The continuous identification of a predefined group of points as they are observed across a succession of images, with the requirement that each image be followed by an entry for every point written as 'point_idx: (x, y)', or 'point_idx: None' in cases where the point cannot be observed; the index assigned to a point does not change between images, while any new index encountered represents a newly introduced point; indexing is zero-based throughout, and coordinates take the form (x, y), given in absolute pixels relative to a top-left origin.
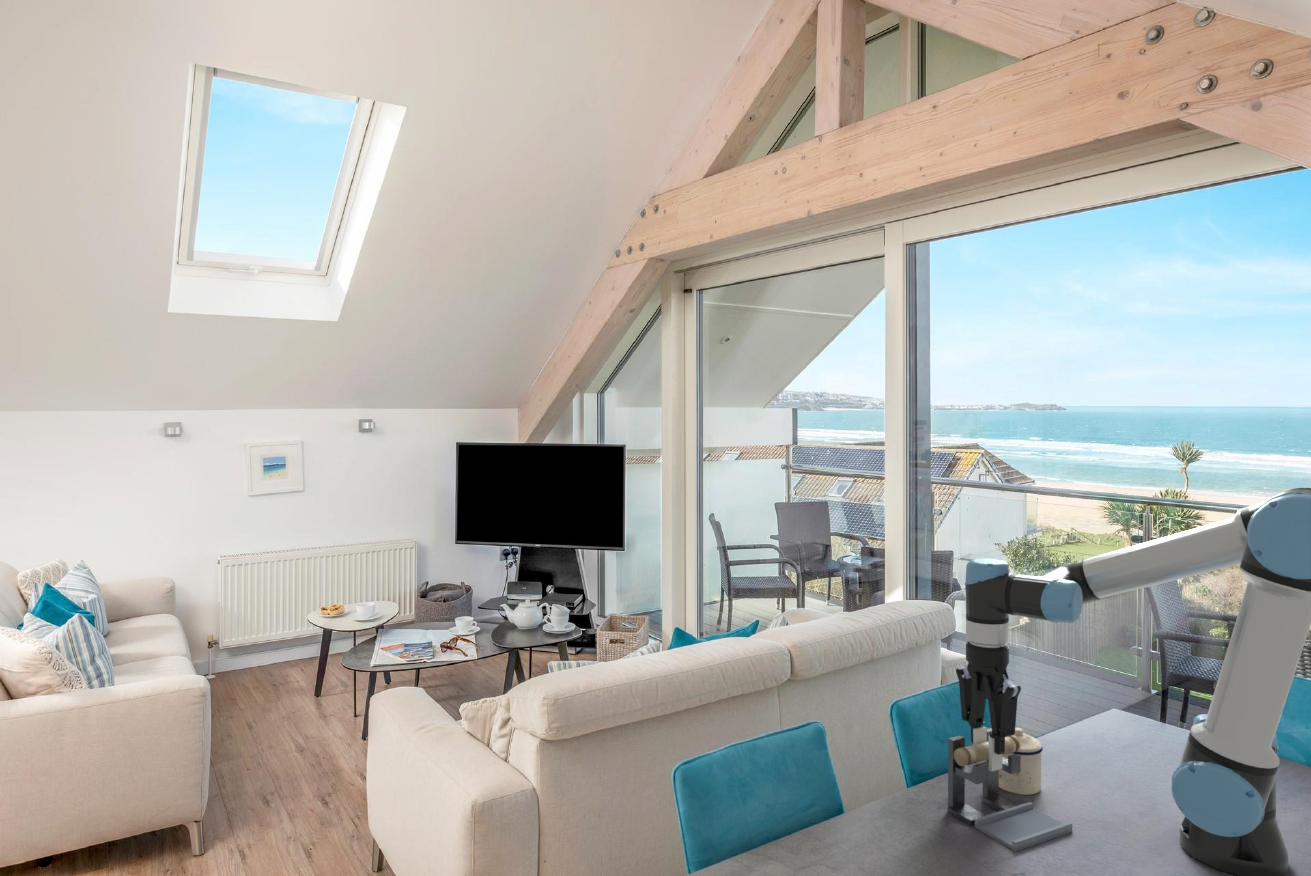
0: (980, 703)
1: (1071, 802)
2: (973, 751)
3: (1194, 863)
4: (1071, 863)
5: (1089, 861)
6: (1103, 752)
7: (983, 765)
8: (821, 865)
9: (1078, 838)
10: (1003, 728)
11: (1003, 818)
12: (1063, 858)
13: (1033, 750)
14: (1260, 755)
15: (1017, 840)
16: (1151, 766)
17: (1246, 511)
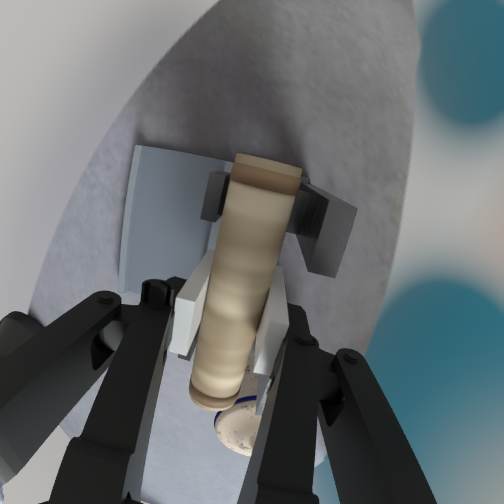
0: (259, 444)
1: (180, 372)
2: (233, 206)
3: (31, 310)
4: (79, 189)
5: (70, 217)
6: (236, 482)
7: (203, 207)
8: None
9: (109, 272)
10: (86, 310)
11: (209, 230)
12: (90, 192)
13: (217, 419)
14: None
15: (137, 155)
16: (186, 476)
17: None
